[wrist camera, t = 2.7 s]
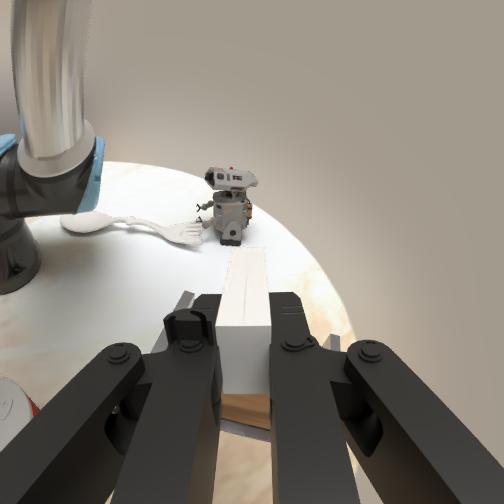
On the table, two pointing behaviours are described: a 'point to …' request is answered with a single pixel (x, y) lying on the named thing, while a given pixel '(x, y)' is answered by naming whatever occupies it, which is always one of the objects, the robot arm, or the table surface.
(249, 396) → the slab
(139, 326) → the table surface
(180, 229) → the white elongated piece
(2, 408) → the canned food
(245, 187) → the figurine
